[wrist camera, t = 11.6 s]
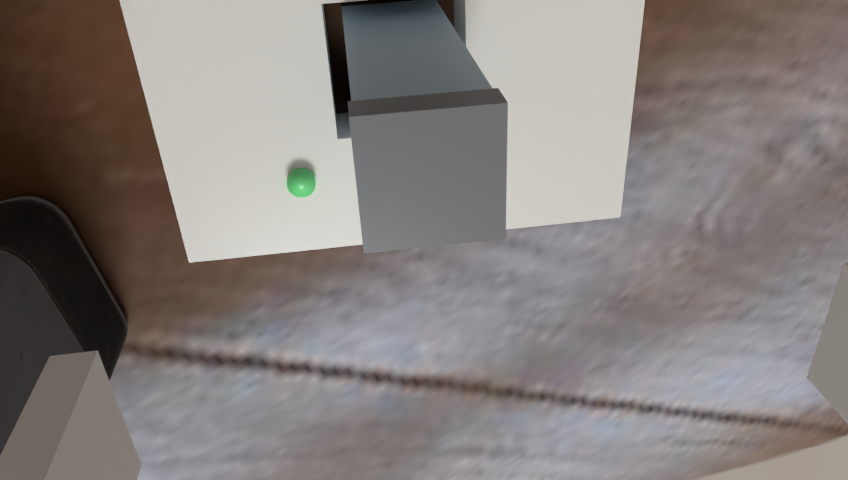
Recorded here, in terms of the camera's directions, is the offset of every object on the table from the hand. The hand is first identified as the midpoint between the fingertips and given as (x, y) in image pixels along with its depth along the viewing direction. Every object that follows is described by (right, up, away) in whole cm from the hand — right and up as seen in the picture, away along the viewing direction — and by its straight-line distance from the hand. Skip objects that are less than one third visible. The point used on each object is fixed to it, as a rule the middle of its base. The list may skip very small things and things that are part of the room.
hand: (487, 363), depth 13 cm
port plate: (-2, +11, +18) cm, 21 cm away
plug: (-3, +11, +18) cm, 21 cm away
